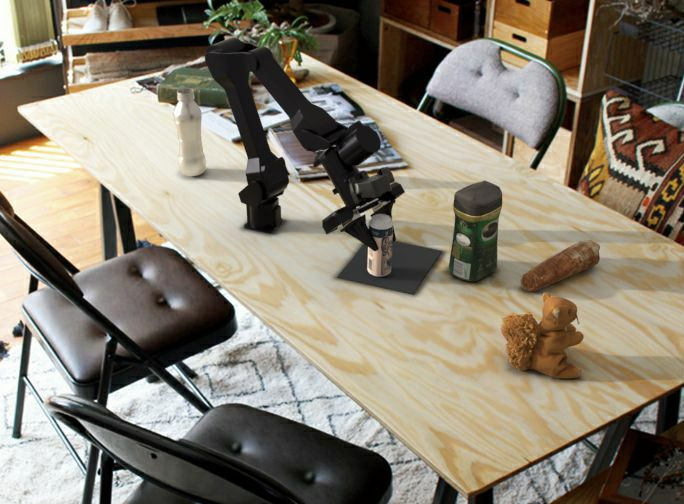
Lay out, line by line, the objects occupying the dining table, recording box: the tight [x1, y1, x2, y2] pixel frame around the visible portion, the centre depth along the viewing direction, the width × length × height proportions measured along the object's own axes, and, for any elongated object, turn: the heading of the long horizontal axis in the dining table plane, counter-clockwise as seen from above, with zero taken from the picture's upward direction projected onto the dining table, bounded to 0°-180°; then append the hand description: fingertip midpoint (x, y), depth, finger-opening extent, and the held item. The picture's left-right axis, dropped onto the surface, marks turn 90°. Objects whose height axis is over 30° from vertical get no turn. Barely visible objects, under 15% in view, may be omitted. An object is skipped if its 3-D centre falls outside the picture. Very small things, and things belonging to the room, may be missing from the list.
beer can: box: [367, 214, 394, 277], centre depth 202 cm, size 5×5×12 cm
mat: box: [336, 240, 443, 295], centre depth 209 cm, size 16×18×1 cm
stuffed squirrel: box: [500, 292, 585, 379], centre depth 179 cm, size 10×14×13 cm
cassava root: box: [520, 239, 601, 293], centre depth 205 cm, size 6×19×6 cm, turn 127°
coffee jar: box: [448, 180, 503, 282], centre depth 202 cm, size 10×8×19 cm
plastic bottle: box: [172, 87, 207, 177], centre depth 235 cm, size 6×7×20 cm
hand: (385, 245), depth 201 cm, fingers closed on beer can, 5 cm apart
